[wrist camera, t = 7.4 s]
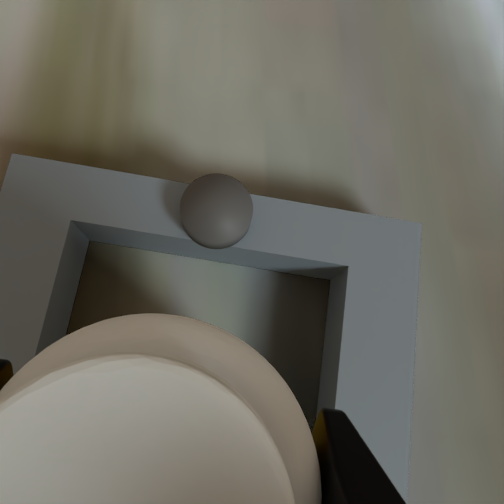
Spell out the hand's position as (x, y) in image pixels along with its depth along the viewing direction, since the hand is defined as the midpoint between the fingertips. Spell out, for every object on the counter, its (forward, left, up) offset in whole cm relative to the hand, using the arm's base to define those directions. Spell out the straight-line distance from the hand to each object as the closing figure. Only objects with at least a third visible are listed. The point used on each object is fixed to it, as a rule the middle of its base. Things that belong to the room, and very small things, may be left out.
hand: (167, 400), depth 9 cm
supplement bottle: (-1, -1, -7) cm, 7 cm away
